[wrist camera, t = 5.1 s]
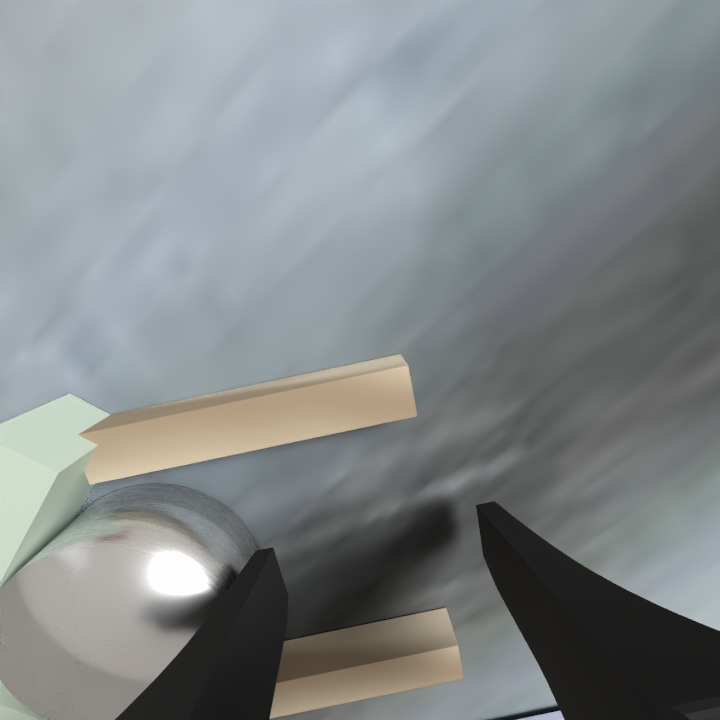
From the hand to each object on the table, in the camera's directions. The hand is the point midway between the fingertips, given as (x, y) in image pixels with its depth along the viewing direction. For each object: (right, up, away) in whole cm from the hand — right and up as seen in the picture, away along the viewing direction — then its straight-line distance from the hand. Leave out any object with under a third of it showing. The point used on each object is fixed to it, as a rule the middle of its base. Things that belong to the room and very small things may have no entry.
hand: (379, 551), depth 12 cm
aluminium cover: (-8, -1, +1) cm, 8 cm away
